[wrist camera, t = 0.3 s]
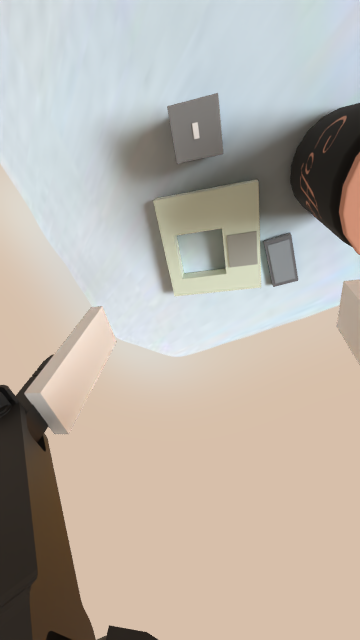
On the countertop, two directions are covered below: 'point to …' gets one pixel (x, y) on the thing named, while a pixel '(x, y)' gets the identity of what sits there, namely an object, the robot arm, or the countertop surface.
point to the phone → (281, 259)
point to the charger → (196, 128)
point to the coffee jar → (331, 173)
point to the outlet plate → (209, 214)
